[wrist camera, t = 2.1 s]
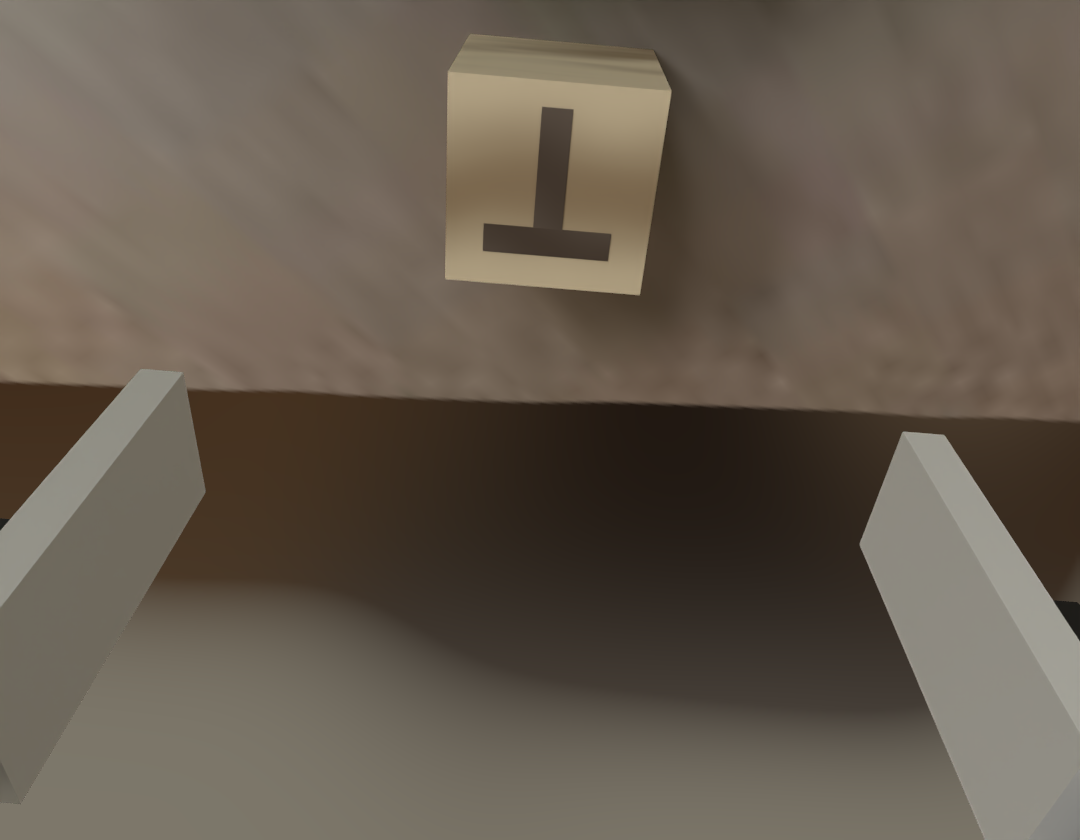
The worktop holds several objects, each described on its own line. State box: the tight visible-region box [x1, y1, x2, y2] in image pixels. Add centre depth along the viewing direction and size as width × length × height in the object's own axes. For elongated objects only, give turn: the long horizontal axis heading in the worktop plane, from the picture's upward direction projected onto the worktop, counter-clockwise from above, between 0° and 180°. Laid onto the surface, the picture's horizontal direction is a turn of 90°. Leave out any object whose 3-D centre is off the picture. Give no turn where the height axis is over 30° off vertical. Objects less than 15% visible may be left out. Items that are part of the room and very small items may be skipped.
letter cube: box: [445, 34, 672, 295], centre depth 31 cm, size 7×7×7 cm
